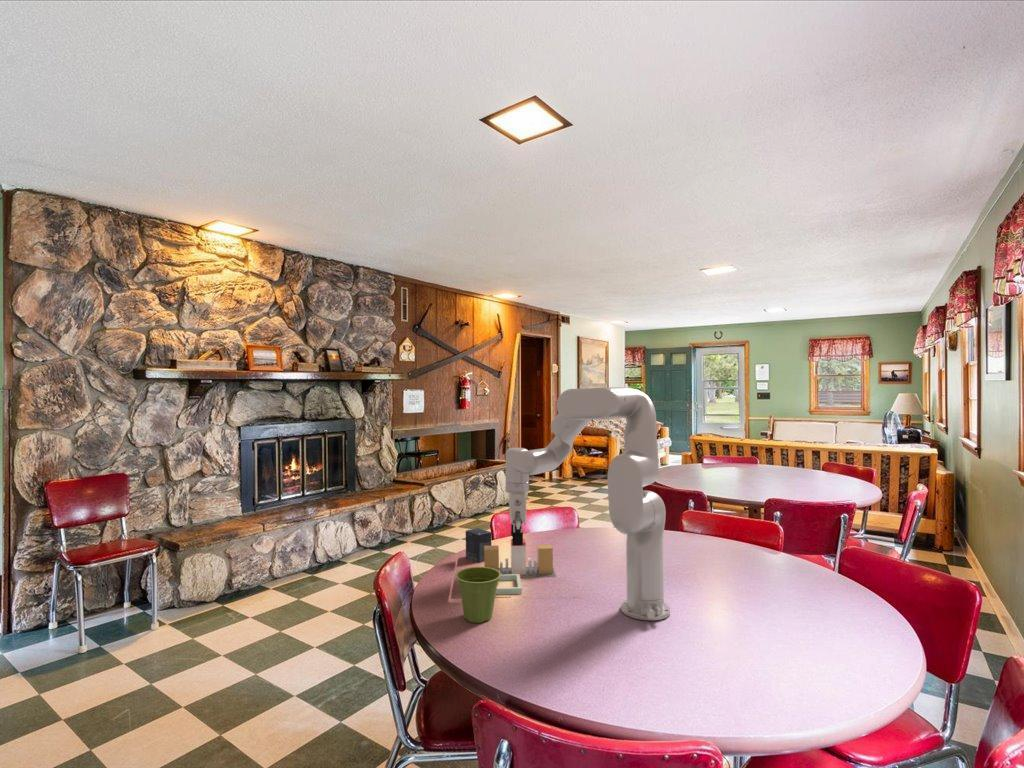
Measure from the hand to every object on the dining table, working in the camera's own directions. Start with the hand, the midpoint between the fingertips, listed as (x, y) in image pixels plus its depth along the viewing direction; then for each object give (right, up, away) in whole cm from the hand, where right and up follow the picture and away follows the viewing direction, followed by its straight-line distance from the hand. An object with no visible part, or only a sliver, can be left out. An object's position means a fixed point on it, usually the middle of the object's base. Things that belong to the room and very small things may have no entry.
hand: (516, 540), depth 170 cm
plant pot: (-10, -11, -32) cm, 35 cm away
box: (-13, -12, +14) cm, 22 cm away
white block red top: (+1, -10, 0) cm, 10 cm away
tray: (-5, -11, -13) cm, 17 cm away
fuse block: (+1, -11, 0) cm, 11 cm away
